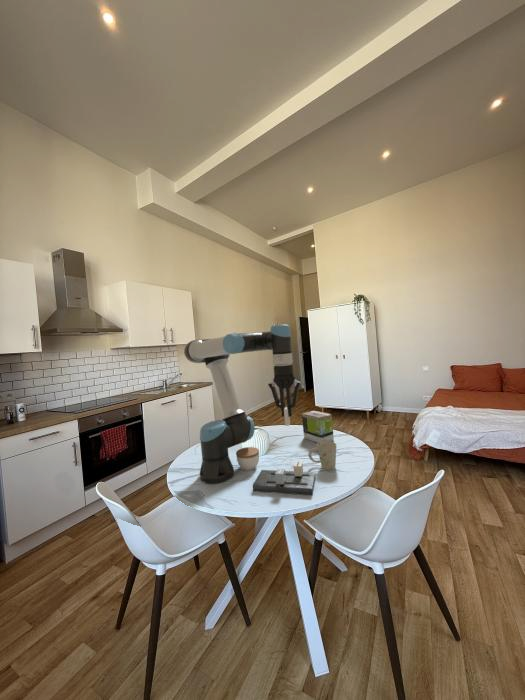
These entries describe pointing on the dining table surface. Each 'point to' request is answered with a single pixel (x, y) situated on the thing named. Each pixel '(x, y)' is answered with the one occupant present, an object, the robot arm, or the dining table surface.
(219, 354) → the robot arm
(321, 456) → the mug
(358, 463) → the dining table surface
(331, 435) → the tea box
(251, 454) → the lidded jar
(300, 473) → the fader left
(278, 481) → the fader right
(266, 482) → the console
